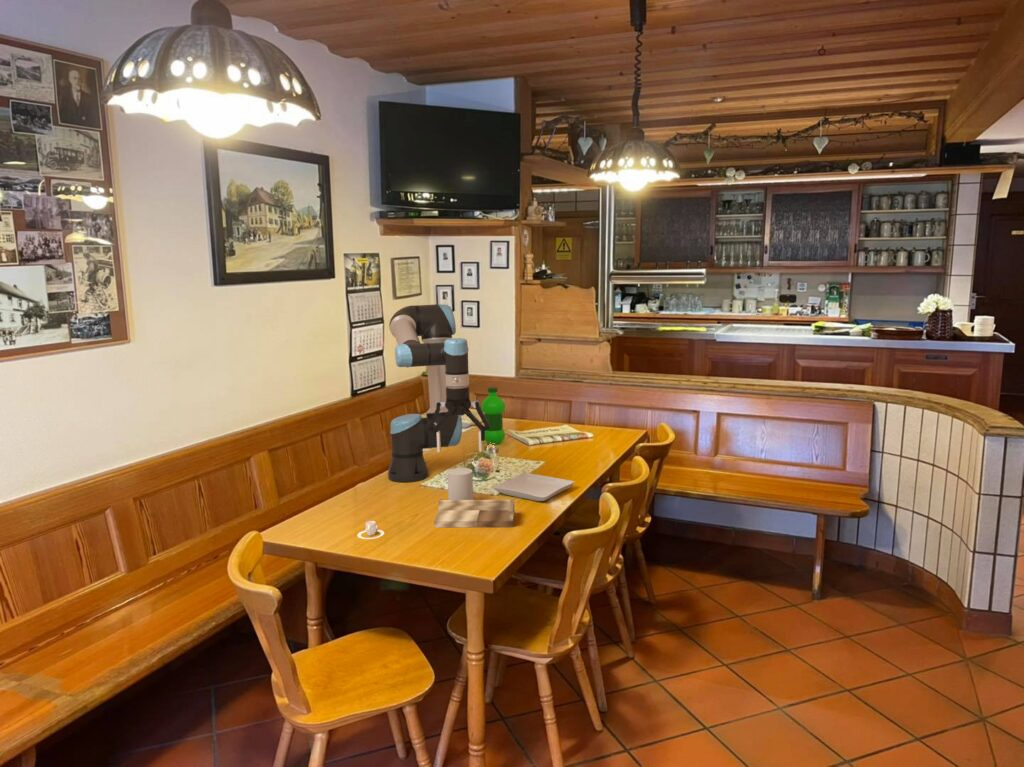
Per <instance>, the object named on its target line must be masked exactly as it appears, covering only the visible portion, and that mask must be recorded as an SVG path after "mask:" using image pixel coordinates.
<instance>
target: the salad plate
mask: <svg viewBox="0 0 1024 767" xmlns="http://www.w3.org/2000/svg"><path fill="white" fill-rule="evenodd" d="M574 484H575V481H574V480H568V479H563V478H557V477H553V476H547V475H542V474H536V473H535V474H534V473H531V472H530V473H529V472H524V473H521V474H520V475H516V476H515V477H512V478H510V479H507V480H505V481H503V482H501V483H499V484H496V485H494V486H493V489H494V490H495V491H497V492H498V493H501V494H503V495H507V496H510V497H514V498H520V499H525V500H528V501H535V502H544V501H547V500H548V499H550V498H552V497H554V496H557V495H558V494H560V493H562V492H564V491H566V490H567V489H569V488H571V487H572V486H573V485H574Z"/></svg>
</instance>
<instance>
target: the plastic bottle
mask: <svg viewBox="0 0 1024 767" xmlns="http://www.w3.org/2000/svg"><path fill="white" fill-rule="evenodd" d="M487 392H488V396H487V397H485V399H483V400H482V402H481V403H480V408H481V409H482V411H483V413H484V415H485V417H486V419H487V420H488V422H489V424H490V429H488V430H485V440H484V442H487V443H490V442H491V443H495V444H496V445H499V444H501V442H502V441H503V440H504V439H505V437H506V432H505V430H504V428H503V427H504V426H503V424H504V423H503V413H504V412H505V410H506V404H505V401H504V400H503V399H502V398H500V397H499V396H498V395H497V392H498V387H497V386H489V387H487Z"/></svg>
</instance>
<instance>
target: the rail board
mask: <svg viewBox="0 0 1024 767" xmlns="http://www.w3.org/2000/svg"><path fill="white" fill-rule="evenodd" d="M437 503H438V511H437V514H436V516H435V517H434V521H433V525H434V526H433V527H434V528H437V529H438V528H514V522H515V513H516V512H515V511H516V510H515V499H473V500H449V499H447V500H446V499H441V500H440V499H439V500H438V502H437Z"/></svg>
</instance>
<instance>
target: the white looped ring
mask: <svg viewBox="0 0 1024 767" xmlns="http://www.w3.org/2000/svg"><path fill="white" fill-rule="evenodd" d="M364 525H365V527H364V528H365V530H362V531H360V532H358V534H357V535H356V536H357V537H358V538H359V539H362V540H374V539H378V538H381V537H383V536H384V535H385V532H384V531H383V530H382V529H379V528H378V525H377V522H376V521H375V520H368V521H365V524H364ZM377 532H379V533H380V535H377V536H375V535H376V533H377ZM364 533H366V534H367V536H374V537H363V536H362V534H364Z"/></svg>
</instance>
